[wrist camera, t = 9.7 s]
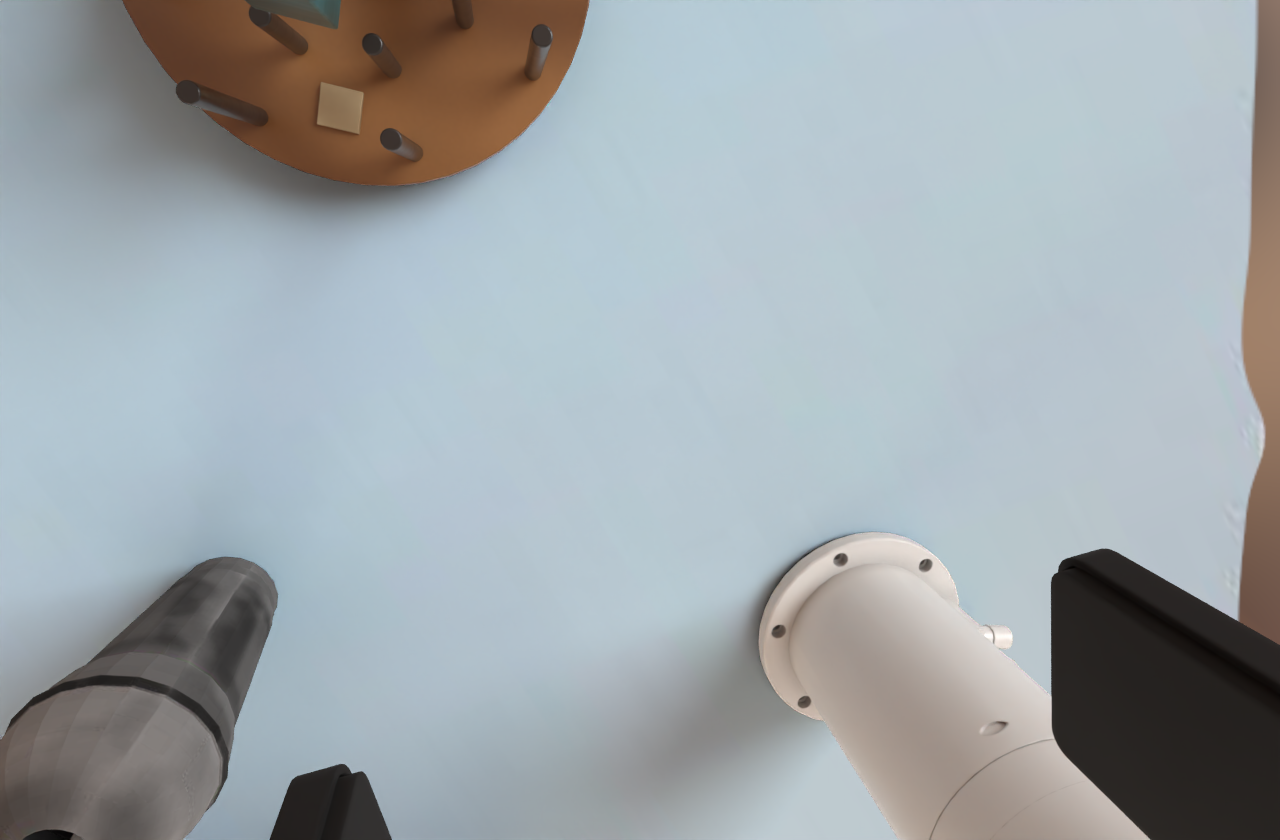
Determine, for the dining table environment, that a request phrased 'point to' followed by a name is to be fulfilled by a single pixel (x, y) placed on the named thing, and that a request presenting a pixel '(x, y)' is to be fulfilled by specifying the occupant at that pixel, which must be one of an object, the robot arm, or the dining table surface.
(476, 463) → the dining table surface
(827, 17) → the dining table surface
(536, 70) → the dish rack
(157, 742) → the beverage cup
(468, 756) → the dining table surface
